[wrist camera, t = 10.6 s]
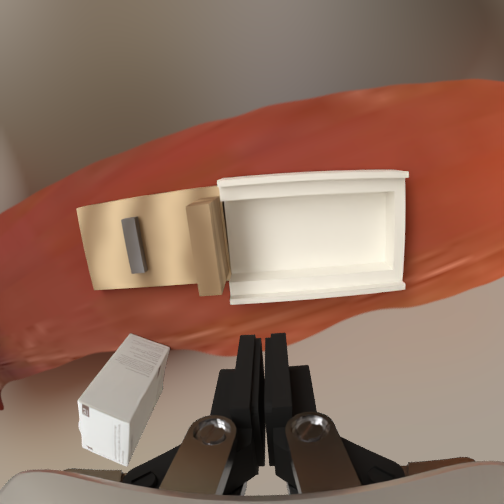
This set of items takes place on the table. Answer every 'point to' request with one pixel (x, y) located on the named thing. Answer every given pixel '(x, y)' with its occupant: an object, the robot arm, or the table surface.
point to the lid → (158, 241)
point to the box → (314, 234)
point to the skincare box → (122, 399)
